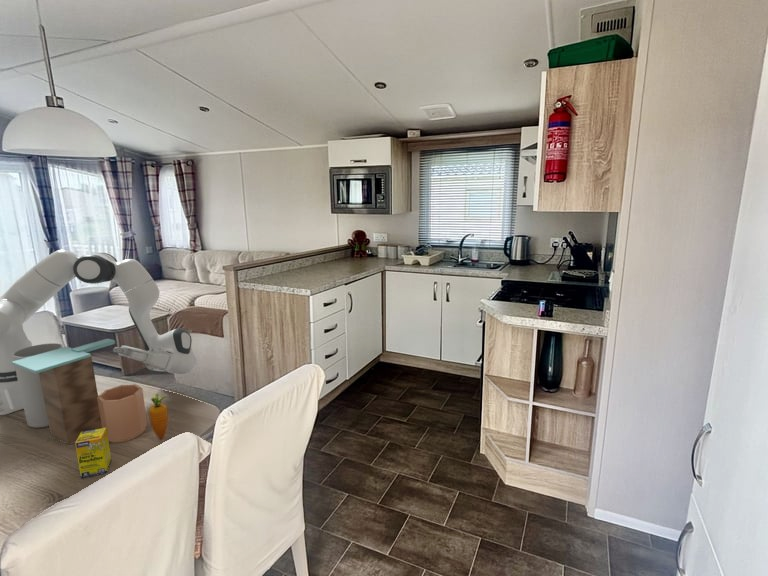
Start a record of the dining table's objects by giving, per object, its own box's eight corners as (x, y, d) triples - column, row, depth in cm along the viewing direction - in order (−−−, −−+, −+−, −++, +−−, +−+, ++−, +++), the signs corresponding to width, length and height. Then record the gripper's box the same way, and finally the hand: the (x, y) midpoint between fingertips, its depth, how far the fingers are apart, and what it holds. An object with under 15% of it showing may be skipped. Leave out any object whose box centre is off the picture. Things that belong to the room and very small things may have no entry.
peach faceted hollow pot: (98, 444, 121) (91, 402, 118) (116, 424, 131) (110, 385, 128) (136, 441, 122) (130, 399, 119) (151, 421, 133) (146, 383, 130)
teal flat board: (99, 339, 136) (99, 336, 136) (124, 346, 130) (123, 342, 130) (11, 364, 116) (11, 360, 115) (36, 373, 109) (35, 369, 109)
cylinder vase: (71, 422, 133) (58, 352, 127) (23, 432, 126) (7, 360, 121) (77, 405, 143) (65, 341, 138) (32, 415, 137) (18, 347, 132)
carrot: (158, 434, 126) (152, 391, 123) (173, 434, 126) (168, 391, 123) (149, 443, 121) (142, 398, 118) (165, 443, 121) (159, 399, 118)
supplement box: (80, 479, 105) (74, 443, 103) (87, 466, 111) (80, 431, 108) (107, 473, 108) (101, 438, 105) (112, 460, 113) (106, 426, 111)
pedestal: (86, 421, 133) (73, 348, 128) (103, 428, 129) (91, 354, 123) (51, 436, 125) (36, 359, 119) (68, 444, 120) (53, 365, 115)
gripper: (143, 345, 154) (109, 338, 143) (178, 355, 146) (144, 347, 134) (137, 361, 153) (101, 355, 141) (172, 372, 144) (137, 366, 132)
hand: (122, 351), depth 137 cm, fingers open, 8 cm apart
